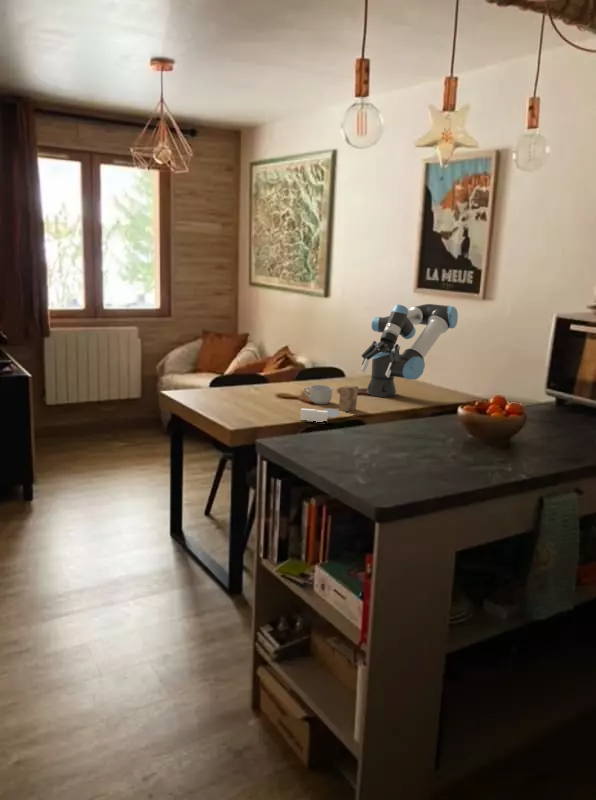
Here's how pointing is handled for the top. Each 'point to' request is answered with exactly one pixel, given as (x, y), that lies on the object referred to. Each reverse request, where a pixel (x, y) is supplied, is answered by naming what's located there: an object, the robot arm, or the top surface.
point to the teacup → (319, 393)
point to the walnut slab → (348, 398)
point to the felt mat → (332, 412)
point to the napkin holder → (313, 415)
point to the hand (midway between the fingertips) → (374, 374)
